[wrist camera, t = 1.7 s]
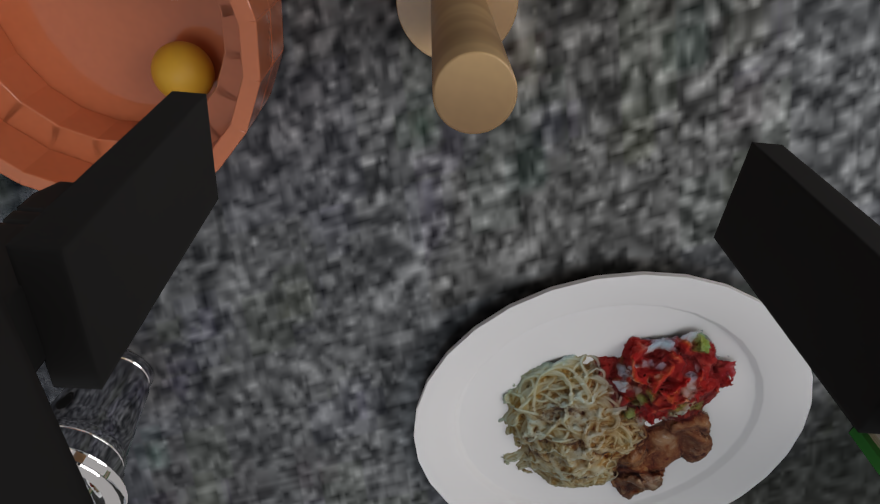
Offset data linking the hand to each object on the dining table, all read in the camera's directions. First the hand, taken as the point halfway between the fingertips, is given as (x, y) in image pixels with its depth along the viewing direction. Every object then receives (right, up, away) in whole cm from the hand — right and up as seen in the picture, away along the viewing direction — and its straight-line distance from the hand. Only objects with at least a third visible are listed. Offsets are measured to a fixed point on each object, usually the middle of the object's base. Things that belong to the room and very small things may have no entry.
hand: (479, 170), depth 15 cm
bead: (-14, +7, +16) cm, 22 cm away
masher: (0, +11, +16) cm, 20 cm away
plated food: (+12, -15, +34) cm, 39 cm away
